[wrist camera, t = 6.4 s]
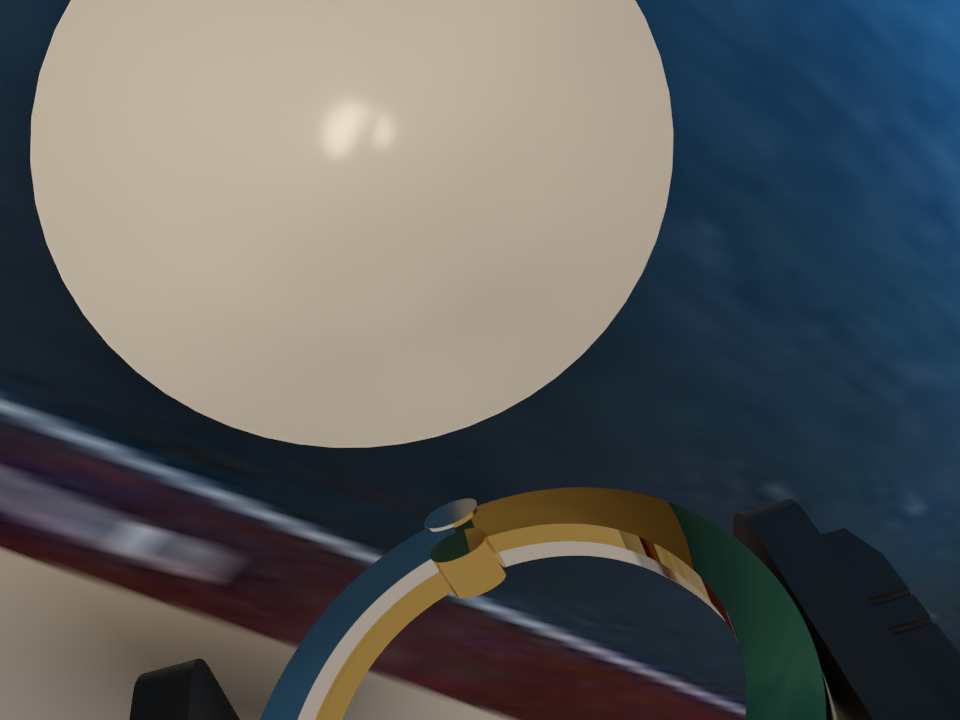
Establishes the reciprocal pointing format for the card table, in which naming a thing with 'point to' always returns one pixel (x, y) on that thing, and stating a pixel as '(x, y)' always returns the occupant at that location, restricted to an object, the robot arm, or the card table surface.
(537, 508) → the ring
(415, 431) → the cream ceramic dish
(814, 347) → the card table surface
